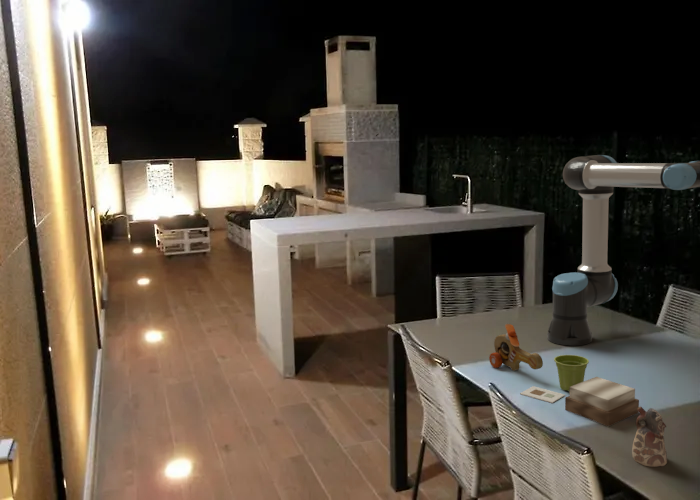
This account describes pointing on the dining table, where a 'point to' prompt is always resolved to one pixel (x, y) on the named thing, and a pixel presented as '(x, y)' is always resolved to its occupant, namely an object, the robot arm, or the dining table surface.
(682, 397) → the dining table surface
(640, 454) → the figurine
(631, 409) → the stacked square slabs
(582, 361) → the plant pot
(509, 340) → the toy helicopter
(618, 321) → the dining table surface
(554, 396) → the page
